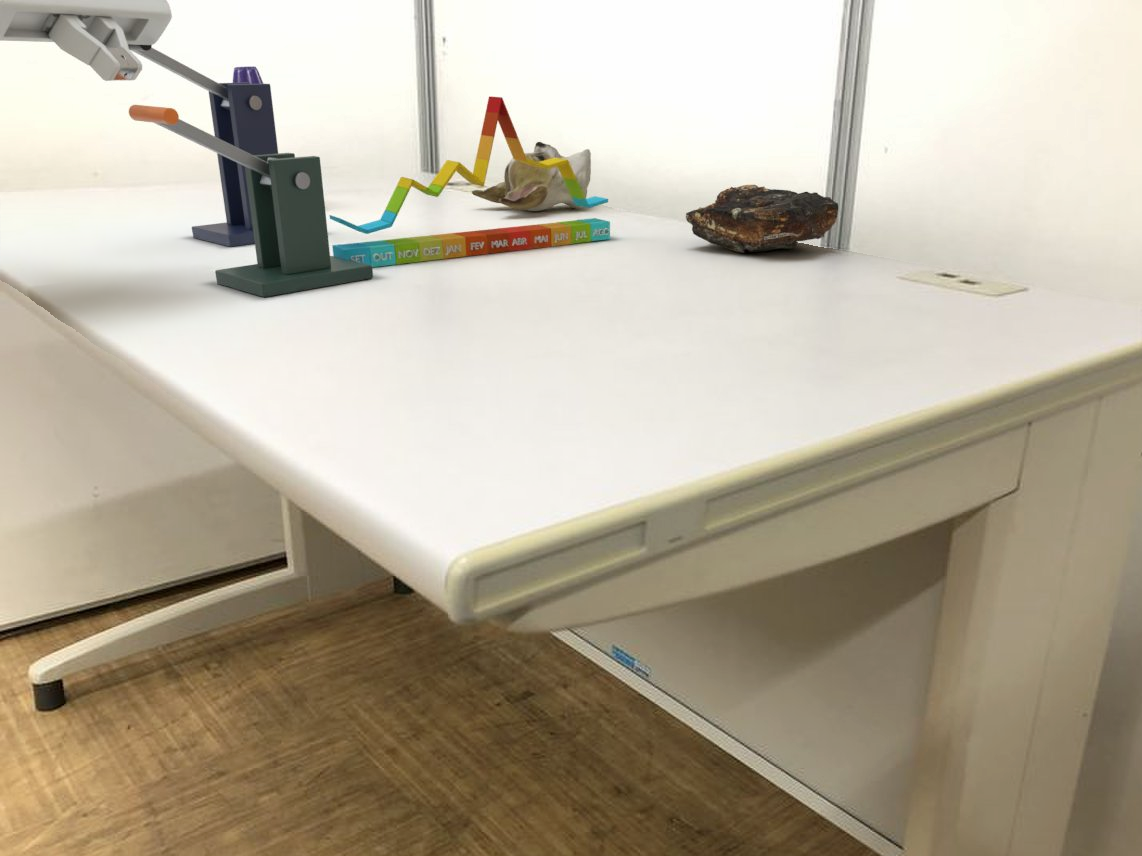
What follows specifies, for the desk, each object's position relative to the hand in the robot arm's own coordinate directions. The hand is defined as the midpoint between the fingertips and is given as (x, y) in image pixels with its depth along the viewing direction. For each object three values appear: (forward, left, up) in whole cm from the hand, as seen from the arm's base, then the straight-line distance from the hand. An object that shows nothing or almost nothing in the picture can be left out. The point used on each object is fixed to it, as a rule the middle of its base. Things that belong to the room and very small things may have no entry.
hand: (125, 74), depth 80 cm
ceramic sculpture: (+57, +16, -18) cm, 62 cm away
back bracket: (+22, +24, -18) cm, 38 cm away
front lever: (+7, 0, -7) cm, 10 cm away
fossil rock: (+55, -20, -18) cm, 61 cm away
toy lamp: (+41, +56, -18) cm, 72 cm away
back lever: (+17, +24, -2) cm, 30 cm away
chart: (+33, -1, -18) cm, 38 cm away
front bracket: (+12, 0, -18) cm, 22 cm away
